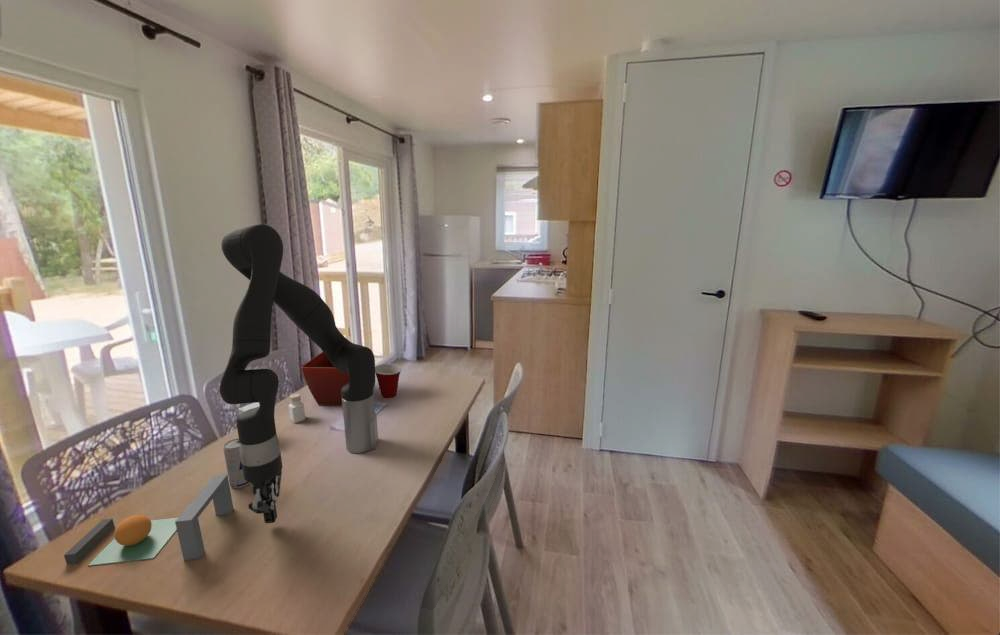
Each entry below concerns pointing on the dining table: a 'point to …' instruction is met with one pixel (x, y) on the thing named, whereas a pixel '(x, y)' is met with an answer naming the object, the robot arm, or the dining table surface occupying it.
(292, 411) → the pepper shaker
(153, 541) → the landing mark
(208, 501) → the bridge
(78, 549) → the wall
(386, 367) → the plastic cup
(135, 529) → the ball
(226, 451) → the energy drink
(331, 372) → the plant pot
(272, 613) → the dining table surface
